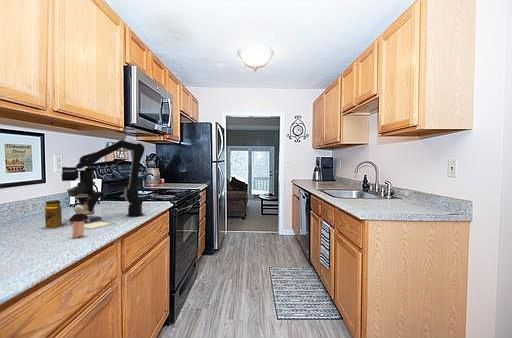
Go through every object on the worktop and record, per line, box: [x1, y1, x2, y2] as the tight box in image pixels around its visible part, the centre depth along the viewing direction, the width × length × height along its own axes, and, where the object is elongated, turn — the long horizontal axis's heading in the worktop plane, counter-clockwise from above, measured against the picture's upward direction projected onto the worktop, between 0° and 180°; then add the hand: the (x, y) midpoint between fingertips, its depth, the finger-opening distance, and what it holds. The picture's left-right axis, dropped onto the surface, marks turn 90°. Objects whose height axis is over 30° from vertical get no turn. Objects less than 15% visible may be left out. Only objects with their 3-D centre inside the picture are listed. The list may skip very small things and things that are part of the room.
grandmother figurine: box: [66, 204, 91, 239], centre depth 110 cm, size 8×4×13 cm, turn 148°
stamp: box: [79, 202, 95, 216], centre depth 139 cm, size 4×4×6 cm
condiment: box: [42, 199, 68, 230], centre depth 128 cm, size 7×8×12 cm
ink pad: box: [71, 214, 102, 224], centre depth 140 cm, size 10×8×2 cm
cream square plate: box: [84, 220, 117, 231], centre depth 130 cm, size 13×12×1 cm
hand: (87, 211), depth 140 cm, fingers closed on stamp, 4 cm apart
